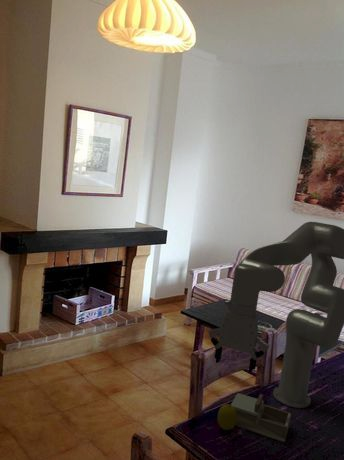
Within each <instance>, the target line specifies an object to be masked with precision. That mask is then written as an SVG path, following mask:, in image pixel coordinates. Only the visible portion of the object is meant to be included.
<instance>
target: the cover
mask: <svg viewBox="0 0 344 460" xmlns="http://www.w3.org/2000/svg"><path fill="white" fill-rule="evenodd" d="M263 398H264V394H262V393H259V395H258V397H257V398H256V397H252V396H248V395H245V394H242V393H239V392H237V394H235V396H234V399H233V401H232V402H231V403H230V405H231V406H233V407H234V408H235V410H238V411H241V412H244V413H247V414H250V415H253V416H256V417H258V415H259V412H260V410H261V408H262V405H263V404H264V399H263Z"/></svg>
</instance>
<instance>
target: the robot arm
mask: <svg viewBox="0 0 344 460" xmlns="http://www.w3.org/2000/svg"><path fill="white" fill-rule="evenodd" d="M308 256H310V257H311V267H310V270H309V274H308V276H307V279H306V282H304V283H305V284H304V287H303V290H302V291H301V295H300V300H301V303H302V304H303V305H304V306H305V307H306V308H307V307H308V308H310V309H313V310H315V311H318V312H321V313H324V314H327V315H326V317H325V316H323V315H319V314H317V313H314V312H312V311H309V310H307V309H306V310H305V309H302V308H297V309H296V308H295V309H293V310H291V311H290V312H289V313H288V314H287V316H286V320H285V332H286V333H285V334H286V336H285V337H286V338H285V345H284V346H285V347H284V353H283V359H282V365H281V370H280V377H279V383H278V384H279V385H278V386H277V387H274V389H273V393H272V395H273V397H274V399H276V400H277V401H278V402H279V403H281V404H283V405H286V406H288V407H292V408H296V409H305V408H307V407H310V405H311V401H312V399H311V397H310V396H309V394H308V391H309V385H310V378H311V373H312V368H313V367H312V366H313V361H314V354H315V353H314V348H313V345H316V346H318V347H321V348H324V349H329V350H330V349H332V348H334V347H335V345H336V344H337V343H338V341H339V340H340V339H339V338H340V335H341V333H342V331H343V327H344V288H341V287H339V286H335V285H334V283H335V280H336V277H337V274H338V272H337V266H336V263H335V262H334V260H333V258H336V259H340V260H344V228H343V227H340V226H339V225H335V224H329V223H323V222H318V221H307V222H304V223H303V224H302V225H300V226H299V227H298V228H297V229H296V230H295V231H293V232H292V233H291V234H290V235H288V236H287V237H286V238H285V239H283V240H282V241H278V242H274V243H270V244H268V245H264V246H261V247H257V248H256V249H254V250H252V251H251V252H250V253H248V254H247V255H246V256H245V257H244V258H243V259H242V260H241V261H240V262H239V263H238V265H236V266H235V268H234V272H233V278H232V285H231V293H230V299H229V300H225V301H224V306H227V307H228V309H226V310H225V312H224V315H223V319H222V321H221V326H220V327H218V328H214V329H210V330H209V331H208V335H209V338H210V341H211V344H213V346H214V349H215V350H214V351H215V352H214V359H215V363H216V364H218V363H220V362H221V360H222V355H223V354H222V353H223V347H226V348H229V349H233V350H235V351H240V352H244V353H249V354H250V356H251V358H250V360H249V367H248V373H249V374H252V372H253V371H254V370H256V366H257V360H258V359H259V358H260V357H262V356H264V354H265V353H266V352H267V351H268V350H269V348H270V345H269V344H268V343H266V342H265V341H264V340H263V339H261V337H260V336H258V334H259V333H258V332H259V317H258V314H257V308H258V303H259V302H258V301H259V294H260V292H266V293H267V292H268V293H272V292H273V293H274V292H277V291H279V290H280V289H281V288H283V286H284V283H285V279H286V276H285V273H284V271H283V270H282V269H281V268H279V266H295V265H299V264H301V263H303V261H304V260H306V258H308ZM277 266H278V267H277ZM217 334H219V337H218V338H217V337H216V335H217ZM257 345H259V346H260V347H261V349H259V351H258V350H257V349H256V346H257Z"/></svg>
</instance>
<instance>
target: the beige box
mask: <svg viewBox="0 0 344 460" xmlns="http://www.w3.org/2000/svg"><path fill="white" fill-rule="evenodd" d="M236 413H237V421H236V424H235V426H236V427H238V428H241V429H244V430H248V431H249V432H253V433H256V434H258V435H259V434H260V435H262V436H264V437H268V438H271V439H275V440H277V441H280V442H281V443H282V442H283V443H286V439H287V434H288V432H289V427H290V422H291V416H292V412H289V411H287V410H283V409H279V408H277V407H274V406H271V405H268V404H264V403H263V405H262V408H261V410H260V412H259V415H258V417H256V416H253V415H250V414H247V413H244V412H241V411H238V410H236ZM235 426H234V427H235Z"/></svg>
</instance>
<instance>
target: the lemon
mask: <svg viewBox="0 0 344 460" xmlns="http://www.w3.org/2000/svg"><path fill="white" fill-rule="evenodd" d="M236 421H237V413H236V410H235V408H234V407H233V406H231V403H228V404H223V405H222V406H221V407H220V408H219V410H218V412H217V422H218V423H217V424H218V426H220V428H222V429H223V430H224V431H230V430H232V429H233V428H234V427H235V424H236Z"/></svg>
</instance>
